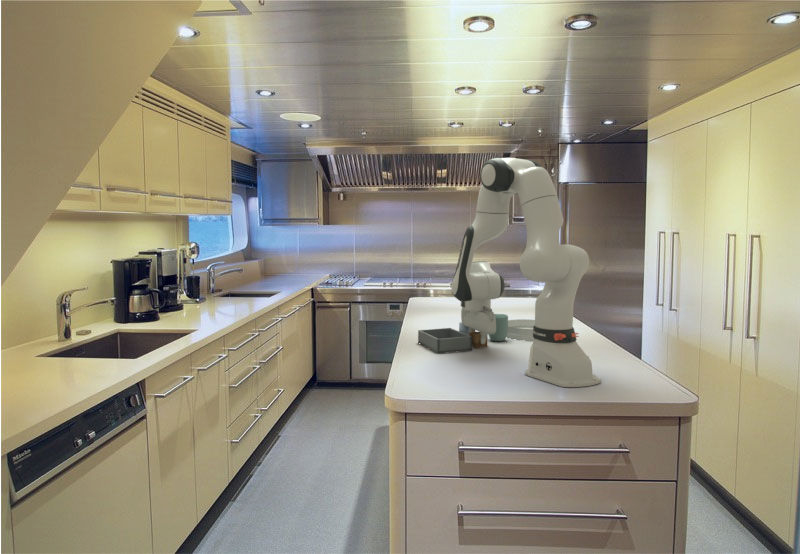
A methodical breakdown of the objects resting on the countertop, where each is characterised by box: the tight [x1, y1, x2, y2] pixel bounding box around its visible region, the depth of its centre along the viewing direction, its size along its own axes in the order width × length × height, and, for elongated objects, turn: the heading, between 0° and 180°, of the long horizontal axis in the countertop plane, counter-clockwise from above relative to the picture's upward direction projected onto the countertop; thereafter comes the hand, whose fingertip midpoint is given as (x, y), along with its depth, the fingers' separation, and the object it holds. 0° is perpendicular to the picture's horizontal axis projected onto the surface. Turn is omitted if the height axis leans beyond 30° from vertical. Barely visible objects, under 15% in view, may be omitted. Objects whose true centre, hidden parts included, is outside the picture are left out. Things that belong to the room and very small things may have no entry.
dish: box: [506, 318, 535, 342], centre depth 215 cm, size 22×22×5 cm
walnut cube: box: [469, 331, 489, 349], centre depth 195 cm, size 5×5×5 cm
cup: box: [488, 313, 509, 342], centre depth 205 cm, size 8×8×10 cm
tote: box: [417, 327, 473, 354], centre depth 195 cm, size 18×14×5 cm
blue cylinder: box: [458, 321, 470, 335], centre depth 205 cm, size 5×5×7 cm
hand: (478, 341), depth 195 cm, fingers closed on walnut cube, 5 cm apart
